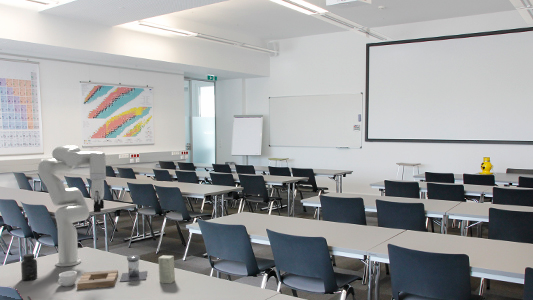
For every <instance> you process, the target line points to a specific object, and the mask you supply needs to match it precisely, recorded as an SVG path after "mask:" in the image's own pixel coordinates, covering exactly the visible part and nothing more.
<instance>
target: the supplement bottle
mask: <svg viewBox="0 0 533 300" xmlns="http://www.w3.org/2000/svg"><path fill="white" fill-rule="evenodd" d="M37 261H38V260H37V259H36V258H35V254H34V253H26V254H23V255H22V261H21V263H20V269H21V281H24V282H31V281H35V280H36V279H37V278H38V262H37Z"/></svg>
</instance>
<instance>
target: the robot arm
mask: <svg viewBox="0 0 533 300" xmlns="http://www.w3.org/2000/svg"><path fill="white" fill-rule="evenodd" d="M51 156H52V158H47V159H44V160H41V161H40V162H39V164H38V167H37V171H38V172H37V173H38V175H39V177H40V179H41V181H42V183H43V184H44V185H45V187H46V189H47V190H46V191H47V192H48V195H49V196H50V199H51V202H52V204H53V205H54V207H55V206H56V207H59V208H57V209H56V210H55V212H54V217H55V221H56V227H57V228H56V229H57V245H58V246H57V247H58V260H57V261H56V262H55V266H56V267H60V268H61V267H72V266H76V265H78V264H81V262H82V259H81V258H79V256H78V255H79V254H78V230H77V228H76V227H75V226H74V223H77V222H82V221H86V220H88V218H89V217H90V209H89V206H88V204H87V201H86V199H85V197H84V195H83V193H82V191H81V190H80V189H79V188H78V187H65V185H64V182H63V181H62V180H61V178H59V177H58V176H56V174H66V173H70V172H72V171H73V170H74V168H81V167H82V168H83V167H89V179H90V181H91V191H90V193H91V198H90V199H91V200H92V201H93V213H101V212H102V209H104V208H105V206H104V205H105V203H104V202H105V201H104V197H105V182H104V181H105V180H107V173H106V172H107V169H106V160H107V159H106V153H105V152H103V151H96V150H95V151H91V150H89V151H82V150H81V149H80V147H79V146H77V145H64V146H62V145H61V146H57V147H55V148H54V149H53V150H52V153H51Z"/></svg>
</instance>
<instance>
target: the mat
mask: <svg viewBox="0 0 533 300" xmlns="http://www.w3.org/2000/svg"><path fill="white" fill-rule="evenodd" d="M147 274H148V271H146V270H144V271H139V276H138V277H135V278H129V277H128V272H122V273H121V277H120V281H119V283H125V282H137V281H138V282H139V281H146V280H147V276H148V275H147Z"/></svg>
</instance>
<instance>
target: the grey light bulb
mask: <svg viewBox="0 0 533 300" xmlns="http://www.w3.org/2000/svg"><path fill="white" fill-rule="evenodd" d="M140 259H141V257H140V255H135V254H134V255H129V256H126V260H127V269H128V272H127V273H128V277H129V278H135V277H138V276H139V272H140V265H139V264H140Z"/></svg>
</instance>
